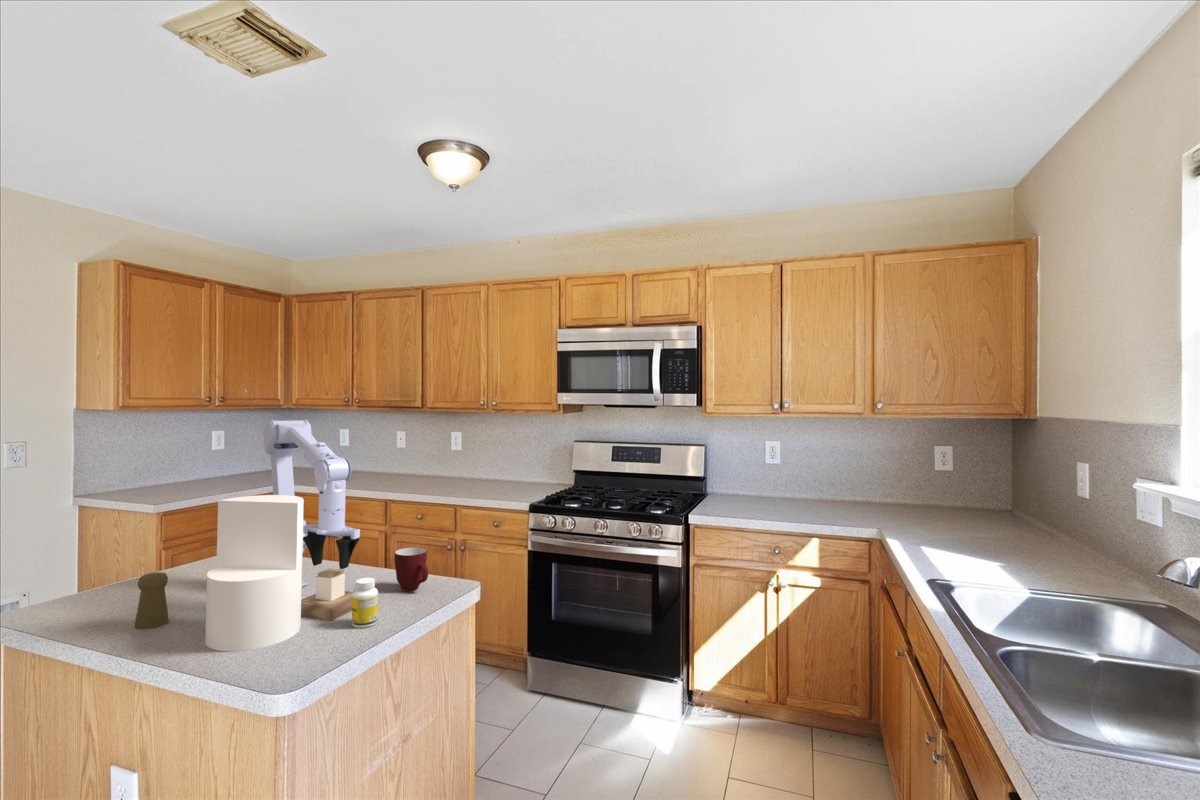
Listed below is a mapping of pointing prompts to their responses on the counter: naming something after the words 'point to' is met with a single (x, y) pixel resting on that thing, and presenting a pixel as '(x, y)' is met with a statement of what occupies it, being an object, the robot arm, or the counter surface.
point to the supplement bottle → (365, 603)
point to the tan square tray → (326, 607)
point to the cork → (152, 601)
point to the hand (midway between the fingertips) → (330, 566)
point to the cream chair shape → (255, 573)
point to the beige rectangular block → (330, 584)
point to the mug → (411, 567)
